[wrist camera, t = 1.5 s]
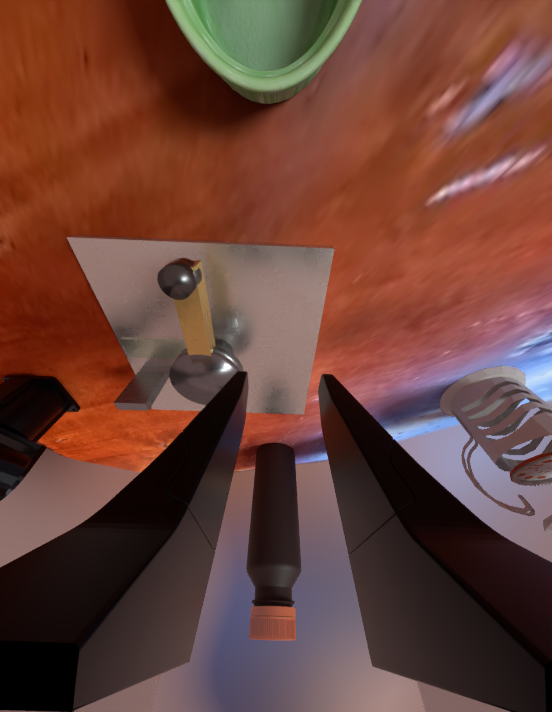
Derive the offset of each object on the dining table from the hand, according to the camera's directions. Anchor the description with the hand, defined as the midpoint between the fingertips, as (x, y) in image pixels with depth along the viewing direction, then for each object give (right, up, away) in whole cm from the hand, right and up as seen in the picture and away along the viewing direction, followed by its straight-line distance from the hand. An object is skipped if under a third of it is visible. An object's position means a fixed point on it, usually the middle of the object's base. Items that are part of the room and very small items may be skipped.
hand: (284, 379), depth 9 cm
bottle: (0, -16, +29) cm, 33 cm away
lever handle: (-6, +2, +9) cm, 12 cm away
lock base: (-7, +2, +15) cm, 16 cm away
